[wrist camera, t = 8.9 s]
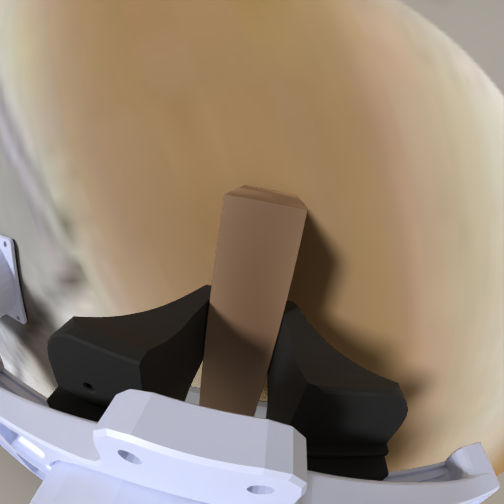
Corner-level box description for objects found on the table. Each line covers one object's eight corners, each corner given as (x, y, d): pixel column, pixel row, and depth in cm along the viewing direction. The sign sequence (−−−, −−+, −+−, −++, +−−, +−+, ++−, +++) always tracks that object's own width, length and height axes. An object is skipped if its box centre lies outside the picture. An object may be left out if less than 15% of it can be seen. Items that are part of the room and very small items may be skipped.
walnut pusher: (218, 355, 16) (198, 416, 11) (244, 185, 13) (224, 194, 8) (258, 364, 16) (250, 427, 11) (296, 195, 13) (307, 209, 8)
